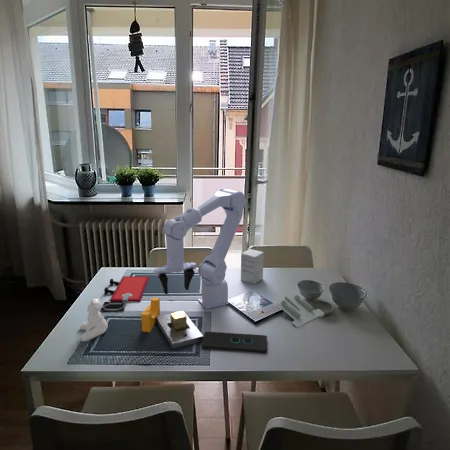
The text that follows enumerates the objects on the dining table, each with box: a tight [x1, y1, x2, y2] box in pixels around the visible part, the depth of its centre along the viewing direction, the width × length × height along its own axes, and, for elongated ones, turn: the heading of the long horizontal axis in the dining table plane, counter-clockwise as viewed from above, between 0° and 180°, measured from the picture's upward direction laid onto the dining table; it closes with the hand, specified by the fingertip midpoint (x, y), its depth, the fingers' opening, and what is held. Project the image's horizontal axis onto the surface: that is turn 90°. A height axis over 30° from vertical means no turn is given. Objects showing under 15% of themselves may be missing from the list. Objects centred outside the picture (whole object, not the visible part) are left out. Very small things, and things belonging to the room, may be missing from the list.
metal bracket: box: [276, 294, 325, 329], centre depth 135 cm, size 14×6×15 cm
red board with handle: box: [100, 275, 150, 311], centre depth 149 cm, size 30×3×15 cm
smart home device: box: [201, 331, 268, 354], centre depth 116 cm, size 8×2×20 cm
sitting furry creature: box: [79, 297, 108, 343], centre depth 120 cm, size 10×9×12 cm
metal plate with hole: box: [155, 310, 204, 350], centre depth 123 cm, size 10×18×2 cm, turn 27°
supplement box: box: [240, 248, 265, 285], centre depth 162 cm, size 7×7×13 cm
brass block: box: [170, 310, 187, 332], centre depth 122 cm, size 4×4×6 cm
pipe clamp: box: [140, 297, 161, 333], centre depth 127 cm, size 12×4×6 cm, turn 173°
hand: (176, 290), depth 130 cm, fingers open, 7 cm apart
